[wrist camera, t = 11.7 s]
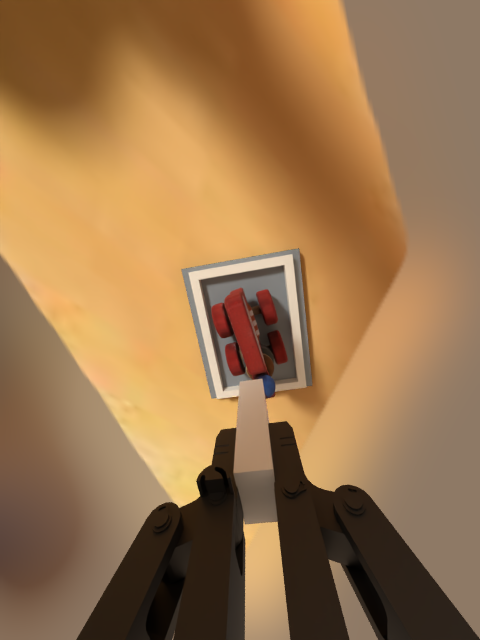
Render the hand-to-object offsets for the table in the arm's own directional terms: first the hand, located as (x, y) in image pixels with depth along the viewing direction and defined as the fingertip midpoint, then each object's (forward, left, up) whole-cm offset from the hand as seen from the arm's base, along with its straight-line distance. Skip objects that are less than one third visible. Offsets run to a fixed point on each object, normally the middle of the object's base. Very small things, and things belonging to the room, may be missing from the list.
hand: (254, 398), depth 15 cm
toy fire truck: (0, 0, -14) cm, 14 cm away
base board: (0, 0, -15) cm, 15 cm away
